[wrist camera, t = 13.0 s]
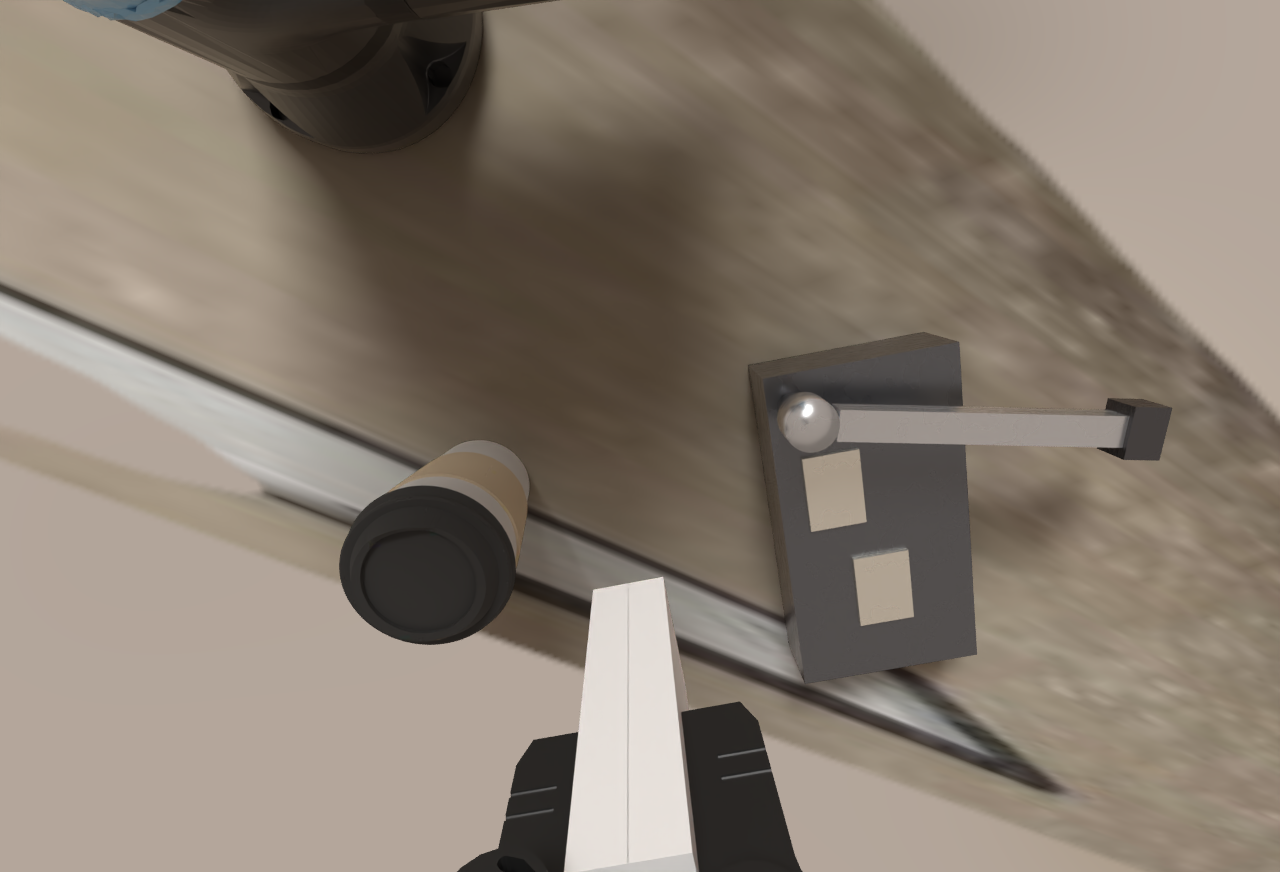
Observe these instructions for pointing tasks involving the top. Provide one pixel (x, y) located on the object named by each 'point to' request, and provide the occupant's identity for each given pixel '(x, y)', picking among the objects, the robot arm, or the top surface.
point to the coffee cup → (440, 546)
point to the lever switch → (869, 514)
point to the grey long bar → (978, 425)
